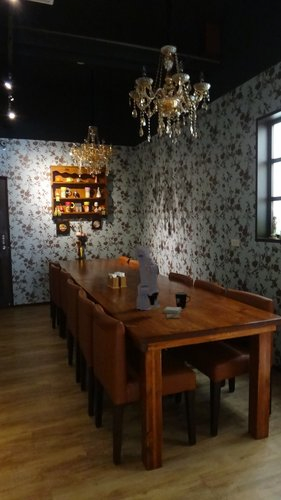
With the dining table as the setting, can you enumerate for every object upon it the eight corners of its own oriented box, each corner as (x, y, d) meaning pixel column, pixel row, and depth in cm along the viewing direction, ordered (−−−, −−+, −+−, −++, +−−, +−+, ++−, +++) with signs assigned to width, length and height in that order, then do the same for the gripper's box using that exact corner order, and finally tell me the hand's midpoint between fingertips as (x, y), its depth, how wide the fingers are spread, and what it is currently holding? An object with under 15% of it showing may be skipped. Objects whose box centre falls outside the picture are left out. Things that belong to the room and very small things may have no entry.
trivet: (166, 318, 207) (166, 317, 207) (166, 315, 215) (166, 314, 215) (179, 318, 207) (179, 317, 207) (178, 315, 215) (178, 313, 215)
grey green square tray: (163, 312, 221) (163, 309, 221) (167, 309, 231) (167, 306, 231) (178, 313, 218) (178, 310, 218) (181, 310, 228) (181, 307, 228)
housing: (147, 307, 215) (147, 299, 215) (149, 306, 219) (149, 298, 218) (157, 308, 213) (157, 300, 212) (159, 306, 217) (159, 298, 216)
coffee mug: (172, 306, 239) (172, 292, 239) (183, 305, 242) (183, 291, 242) (180, 309, 229) (180, 295, 228) (191, 308, 232) (191, 294, 231)
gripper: (156, 285, 207) (156, 307, 208) (161, 281, 220) (162, 302, 221) (145, 285, 209) (145, 306, 210) (151, 281, 223) (151, 301, 224)
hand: (153, 304), depth 216 cm, fingers closed on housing, 4 cm apart
